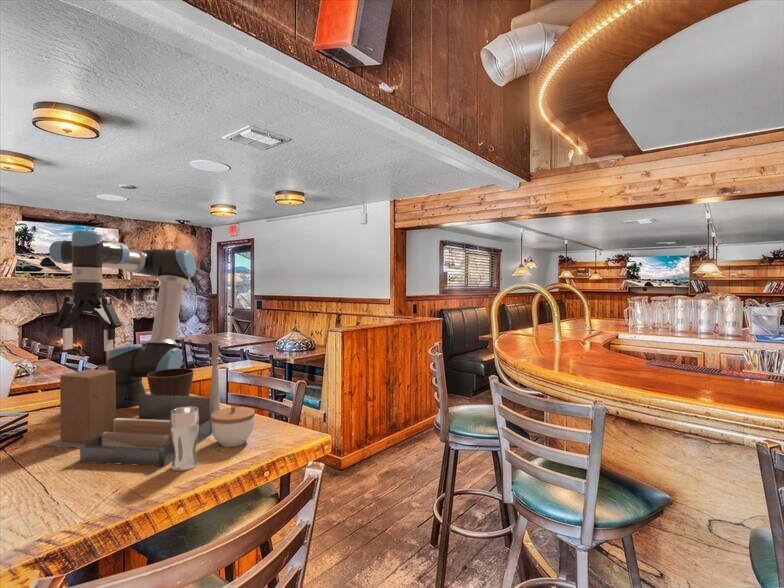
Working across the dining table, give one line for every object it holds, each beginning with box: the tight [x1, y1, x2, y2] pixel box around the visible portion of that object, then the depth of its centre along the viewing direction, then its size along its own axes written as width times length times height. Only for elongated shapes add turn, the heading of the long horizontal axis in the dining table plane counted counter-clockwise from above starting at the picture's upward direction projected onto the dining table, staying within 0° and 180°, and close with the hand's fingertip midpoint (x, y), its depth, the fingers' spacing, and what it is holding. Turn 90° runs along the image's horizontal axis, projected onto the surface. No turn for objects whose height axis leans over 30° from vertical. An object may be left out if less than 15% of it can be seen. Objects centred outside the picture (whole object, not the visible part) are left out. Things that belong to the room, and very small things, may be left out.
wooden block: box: [59, 368, 116, 443], centre depth 126 cm, size 10×10×20 cm
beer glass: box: [170, 406, 199, 472], centre depth 108 cm, size 7×7×15 cm
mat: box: [42, 437, 81, 448], centre depth 127 cm, size 15×15×1 cm
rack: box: [79, 394, 213, 467], centre depth 120 cm, size 24×24×12 cm
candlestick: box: [209, 338, 221, 413], centre depth 141 cm, size 13×13×30 cm
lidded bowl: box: [211, 405, 256, 448], centre depth 125 cm, size 13×13×11 cm
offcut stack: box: [102, 417, 171, 449], centre depth 114 cm, size 8×19×9 cm, turn 85°
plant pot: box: [146, 367, 195, 396], centre depth 148 cm, size 15×15×16 cm
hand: (88, 349), depth 126 cm, fingers open, 13 cm apart
